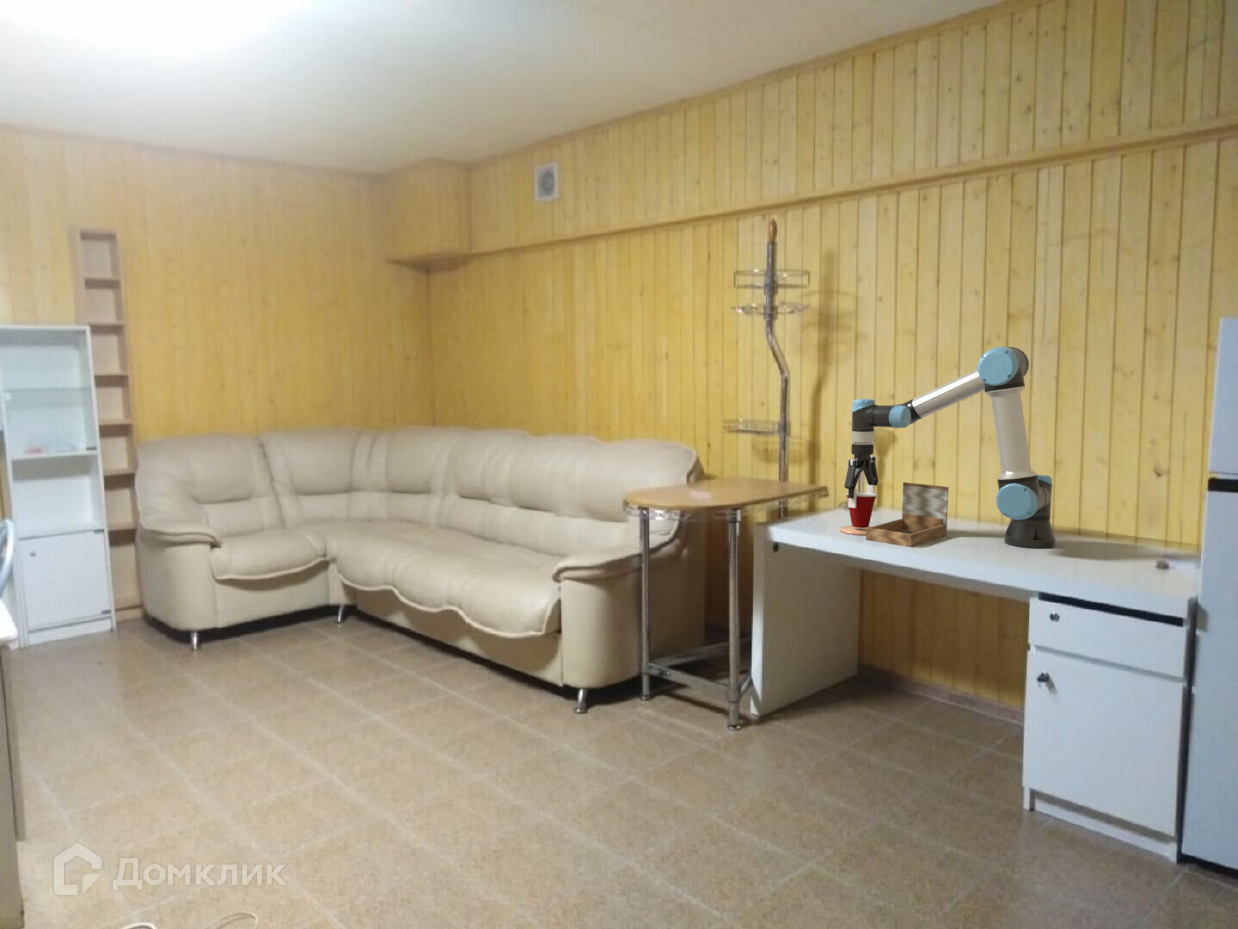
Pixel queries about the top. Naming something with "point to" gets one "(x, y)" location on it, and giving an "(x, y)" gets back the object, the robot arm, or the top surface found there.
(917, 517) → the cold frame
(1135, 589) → the top surface
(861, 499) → the plastic cup
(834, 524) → the top surface
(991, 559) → the top surface
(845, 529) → the saucer
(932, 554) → the top surface
